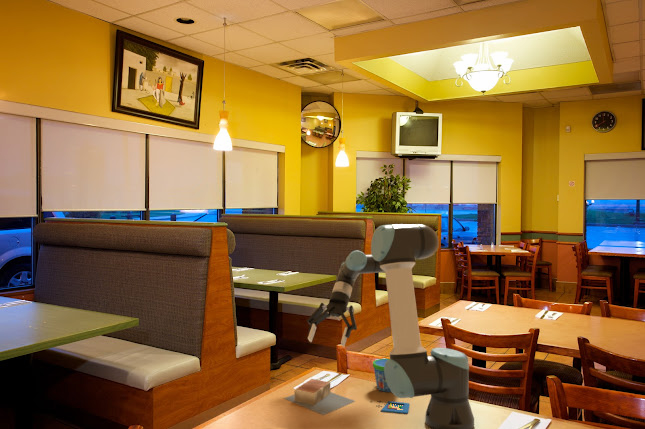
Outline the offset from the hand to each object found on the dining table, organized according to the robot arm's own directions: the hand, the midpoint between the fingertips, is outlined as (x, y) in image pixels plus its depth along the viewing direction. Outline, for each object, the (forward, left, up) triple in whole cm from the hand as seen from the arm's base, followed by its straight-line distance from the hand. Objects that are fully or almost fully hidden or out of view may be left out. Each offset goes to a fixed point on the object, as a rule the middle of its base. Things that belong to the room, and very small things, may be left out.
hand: (325, 342), depth 191 cm
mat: (-7, +10, -18) cm, 21 cm away
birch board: (-1, +4, -15) cm, 16 cm away
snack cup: (-17, -16, -18) cm, 29 cm away
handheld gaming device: (-27, -3, -18) cm, 32 cm away
